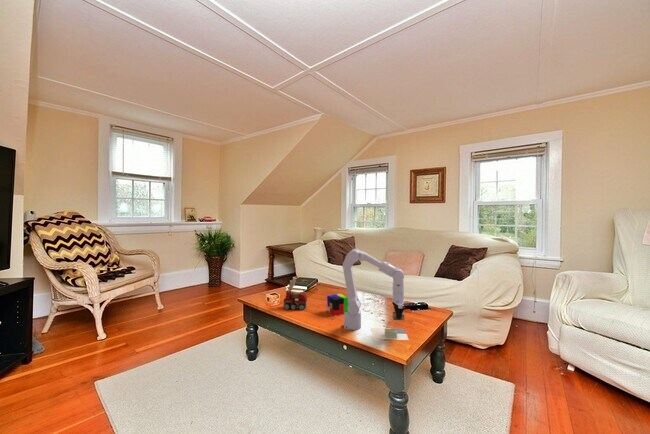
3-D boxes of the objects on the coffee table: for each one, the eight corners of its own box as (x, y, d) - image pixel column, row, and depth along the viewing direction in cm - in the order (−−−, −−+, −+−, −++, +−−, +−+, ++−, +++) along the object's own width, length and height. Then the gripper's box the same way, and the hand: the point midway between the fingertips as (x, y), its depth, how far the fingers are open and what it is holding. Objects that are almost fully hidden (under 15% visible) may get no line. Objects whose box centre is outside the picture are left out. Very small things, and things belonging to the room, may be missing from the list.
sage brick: (385, 337, 138) (385, 331, 138) (384, 334, 142) (384, 328, 142) (396, 338, 137) (396, 332, 137) (395, 334, 141) (395, 328, 141)
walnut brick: (393, 319, 144) (393, 314, 144) (392, 317, 148) (392, 311, 148) (404, 320, 143) (404, 314, 143) (403, 317, 147) (403, 311, 147)
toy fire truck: (305, 310, 181) (305, 284, 180) (282, 309, 182) (282, 283, 182) (308, 304, 192) (308, 279, 192) (286, 304, 194) (286, 279, 193)
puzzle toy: (327, 310, 180) (327, 295, 179) (340, 308, 184) (340, 293, 184) (334, 315, 171) (334, 300, 170) (348, 313, 175) (348, 297, 175)
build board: (372, 340, 137) (372, 338, 137) (370, 329, 150) (370, 327, 150) (408, 342, 135) (408, 339, 135) (404, 330, 148) (404, 328, 148)
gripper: (408, 296, 137) (408, 323, 138) (403, 288, 152) (403, 312, 152) (394, 295, 138) (394, 322, 139) (390, 288, 153) (390, 312, 153)
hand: (398, 317), depth 145 cm, fingers closed on walnut brick, 4 cm apart
